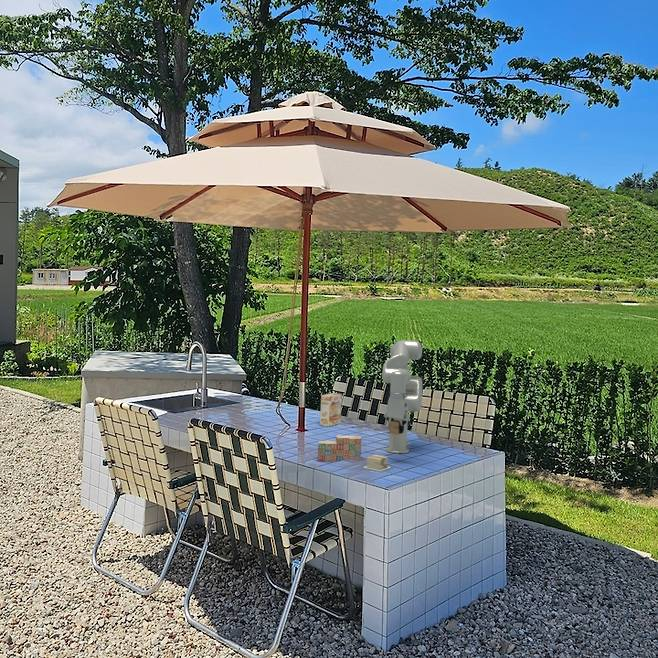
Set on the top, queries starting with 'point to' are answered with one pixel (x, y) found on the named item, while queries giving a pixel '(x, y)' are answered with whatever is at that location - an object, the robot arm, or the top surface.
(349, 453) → the stack of blocks
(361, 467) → the board
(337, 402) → the coffeecake box
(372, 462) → the maple base block
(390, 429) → the walnut block
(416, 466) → the top surface
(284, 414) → the top surface
